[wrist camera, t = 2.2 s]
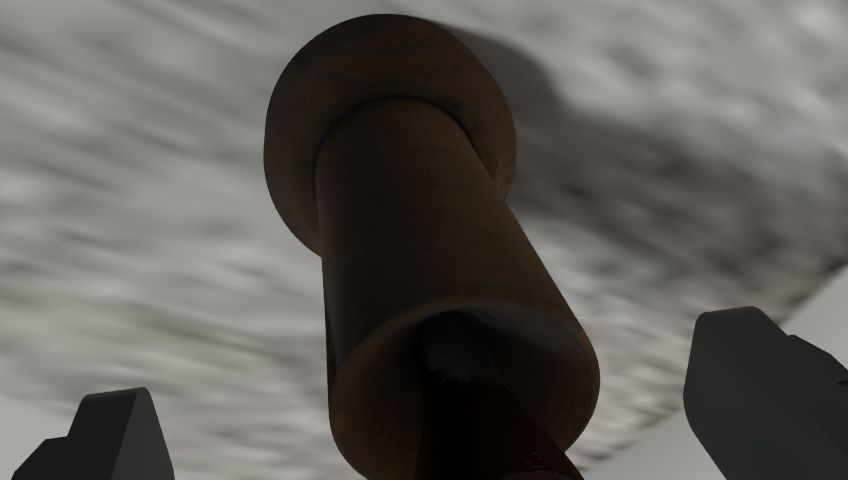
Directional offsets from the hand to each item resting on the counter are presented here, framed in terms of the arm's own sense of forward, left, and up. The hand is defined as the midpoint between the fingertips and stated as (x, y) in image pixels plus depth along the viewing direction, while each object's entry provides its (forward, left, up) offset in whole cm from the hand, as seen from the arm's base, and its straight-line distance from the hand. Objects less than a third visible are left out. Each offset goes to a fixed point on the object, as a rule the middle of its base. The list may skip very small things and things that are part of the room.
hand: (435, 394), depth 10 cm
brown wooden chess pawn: (0, 0, -11) cm, 11 cm away
